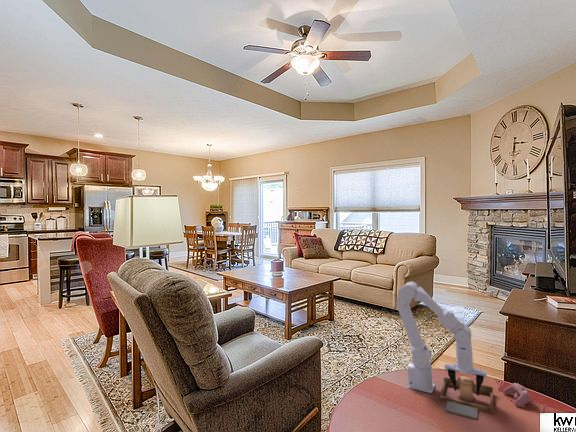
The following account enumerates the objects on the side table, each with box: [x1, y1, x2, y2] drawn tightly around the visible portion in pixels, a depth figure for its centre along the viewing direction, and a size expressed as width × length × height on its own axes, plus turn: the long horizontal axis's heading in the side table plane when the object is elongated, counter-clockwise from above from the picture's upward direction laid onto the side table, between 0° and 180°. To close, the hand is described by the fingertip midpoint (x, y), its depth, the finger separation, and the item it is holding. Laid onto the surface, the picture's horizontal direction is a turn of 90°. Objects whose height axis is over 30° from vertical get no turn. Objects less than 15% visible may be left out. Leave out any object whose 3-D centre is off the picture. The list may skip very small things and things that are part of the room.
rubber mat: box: [444, 401, 479, 421], centre depth 114 cm, size 10×7×1 cm
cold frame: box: [439, 376, 494, 414], centre depth 122 cm, size 18×15×3 cm
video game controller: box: [503, 382, 531, 408], centre depth 119 cm, size 10×5×7 cm, turn 169°
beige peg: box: [457, 375, 475, 402], centre depth 122 cm, size 5×5×7 cm
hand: (466, 391), depth 122 cm, fingers open, 7 cm apart
